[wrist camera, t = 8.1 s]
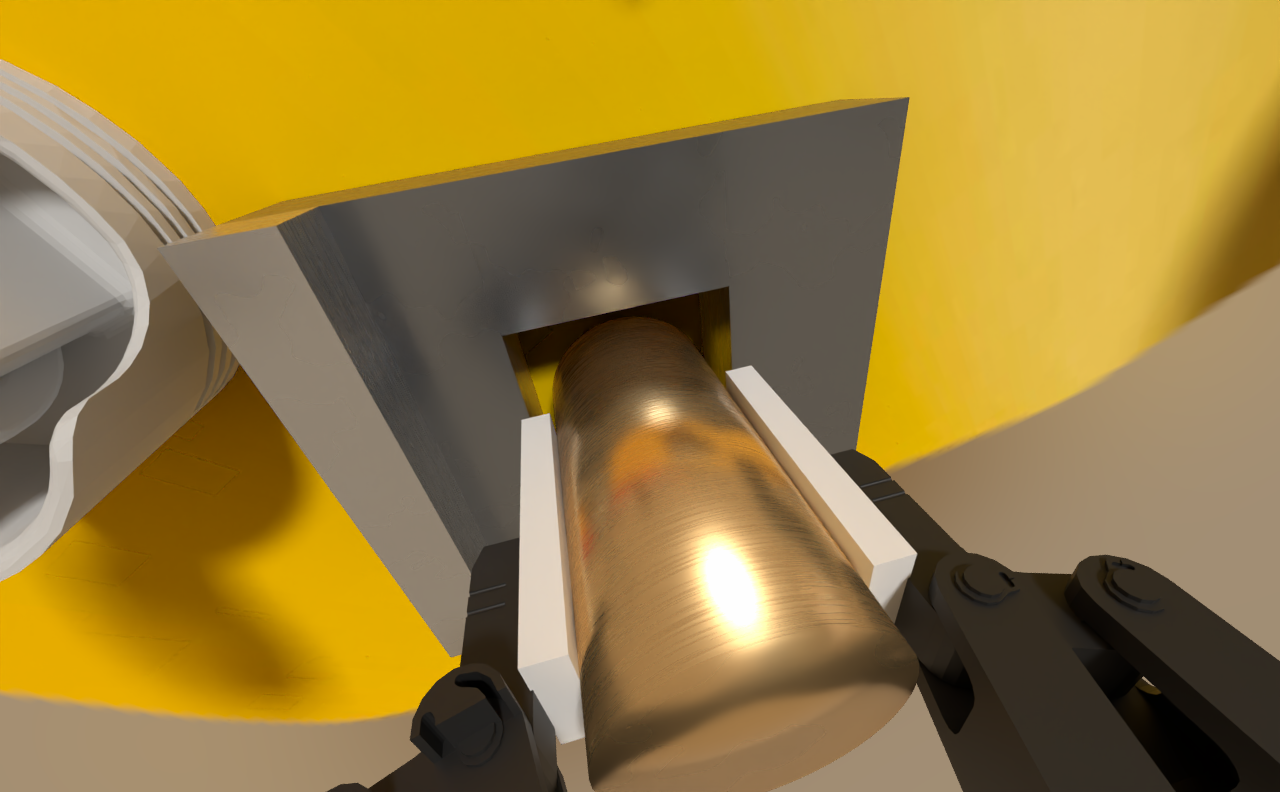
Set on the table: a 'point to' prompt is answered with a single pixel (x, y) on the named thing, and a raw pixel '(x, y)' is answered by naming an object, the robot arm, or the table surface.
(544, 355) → the table surface
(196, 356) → the engine component
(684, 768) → the copper cylinder rod
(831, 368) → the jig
